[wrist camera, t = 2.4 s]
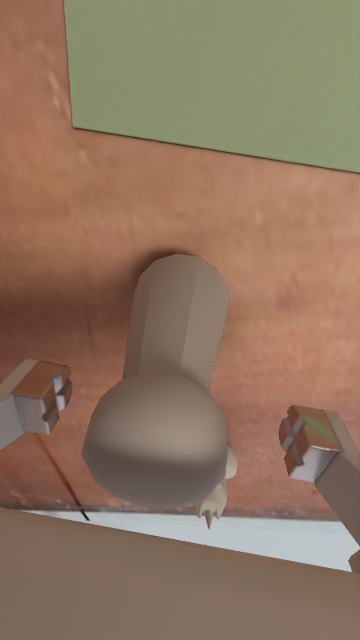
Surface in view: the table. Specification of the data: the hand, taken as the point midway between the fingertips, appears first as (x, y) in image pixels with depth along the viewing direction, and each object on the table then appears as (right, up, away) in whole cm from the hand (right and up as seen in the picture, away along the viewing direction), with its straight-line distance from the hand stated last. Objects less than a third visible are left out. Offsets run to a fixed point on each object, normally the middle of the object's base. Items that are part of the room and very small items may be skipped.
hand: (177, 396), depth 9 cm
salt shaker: (0, +5, +9) cm, 10 cm away
